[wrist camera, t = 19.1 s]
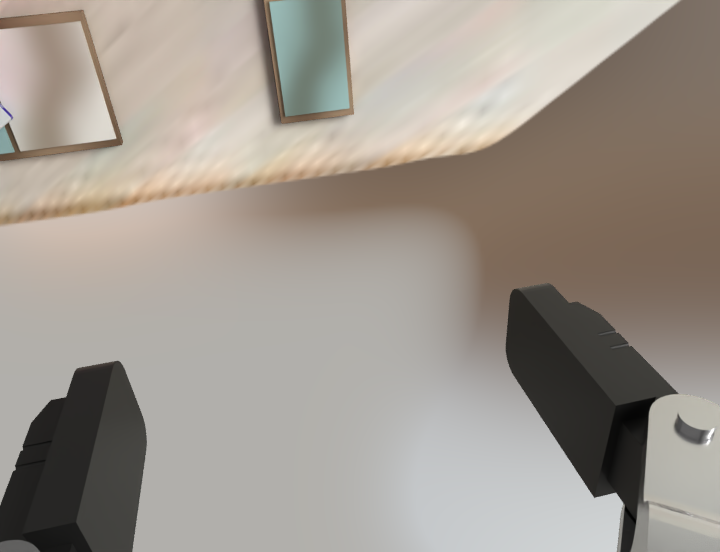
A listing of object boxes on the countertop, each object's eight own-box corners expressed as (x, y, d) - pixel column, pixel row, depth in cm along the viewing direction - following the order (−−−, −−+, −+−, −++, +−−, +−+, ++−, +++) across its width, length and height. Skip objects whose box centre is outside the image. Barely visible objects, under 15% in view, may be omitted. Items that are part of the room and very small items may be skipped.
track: (-82, 169, 36) (-88, 173, 35) (-152, 33, 32) (-160, 35, 31) (352, 111, 40) (354, 115, 39) (342, -16, 36) (344, -15, 35)
